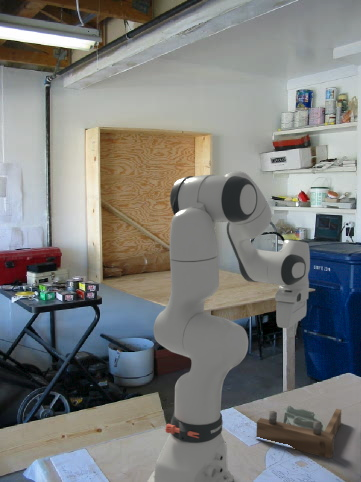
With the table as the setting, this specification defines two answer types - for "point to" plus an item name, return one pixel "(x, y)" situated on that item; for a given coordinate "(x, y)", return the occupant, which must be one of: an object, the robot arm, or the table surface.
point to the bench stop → (301, 434)
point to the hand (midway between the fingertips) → (291, 336)
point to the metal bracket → (301, 418)
